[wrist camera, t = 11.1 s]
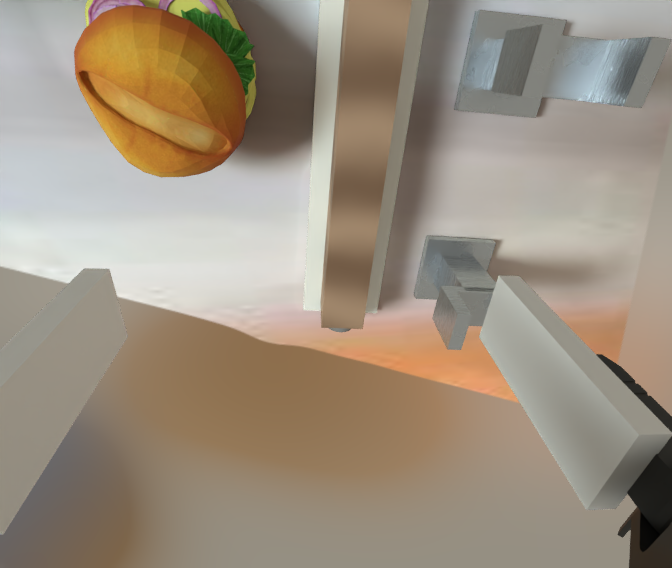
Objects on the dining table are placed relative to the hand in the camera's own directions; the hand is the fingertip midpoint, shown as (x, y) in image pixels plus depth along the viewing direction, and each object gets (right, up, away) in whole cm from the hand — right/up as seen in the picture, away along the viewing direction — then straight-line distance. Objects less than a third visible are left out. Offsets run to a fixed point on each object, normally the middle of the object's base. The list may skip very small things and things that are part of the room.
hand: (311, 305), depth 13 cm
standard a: (+12, +2, +22) cm, 25 cm away
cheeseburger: (-9, +15, +13) cm, 22 cm away
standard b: (+13, +16, +14) cm, 25 cm away
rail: (+2, +9, +16) cm, 19 cm away
